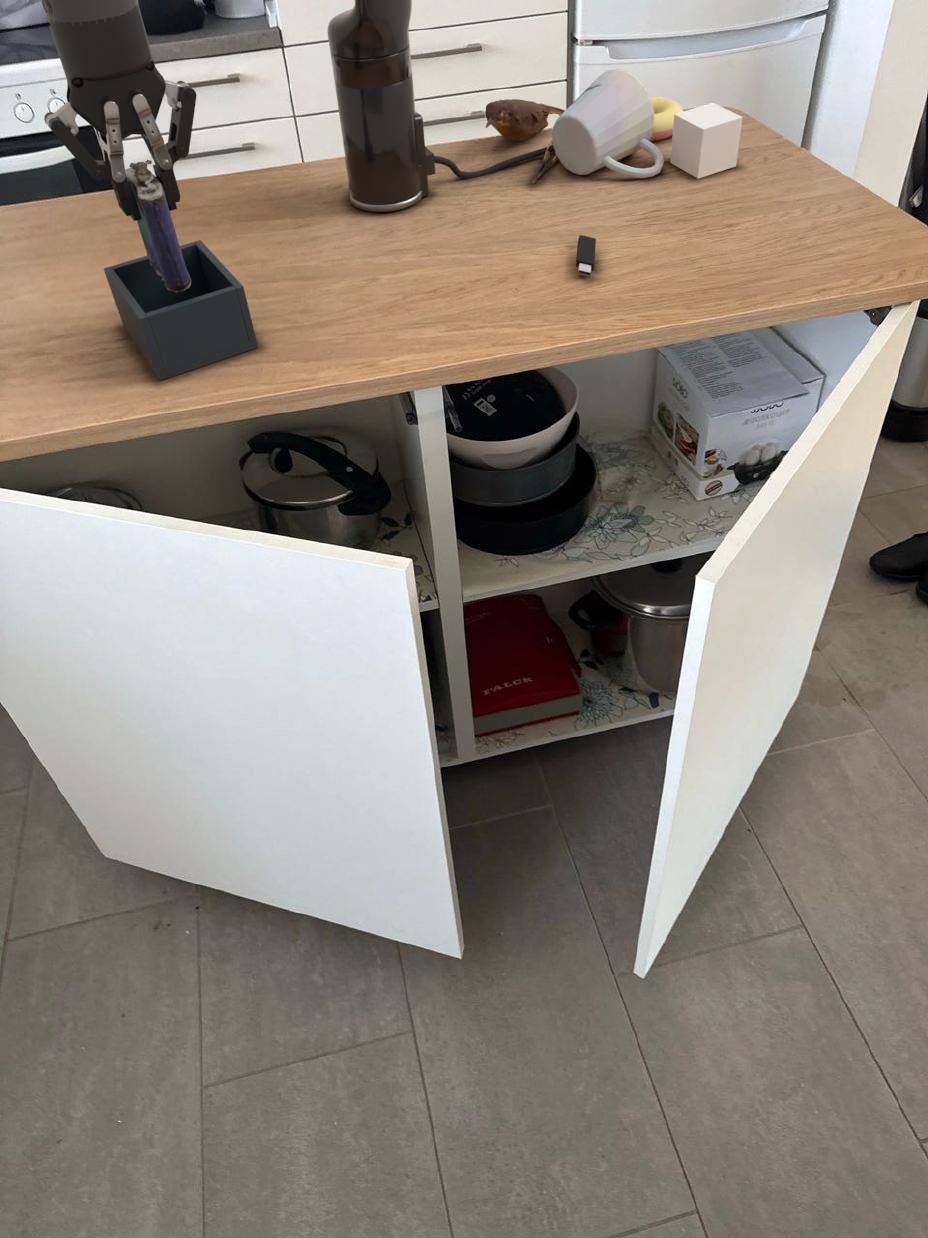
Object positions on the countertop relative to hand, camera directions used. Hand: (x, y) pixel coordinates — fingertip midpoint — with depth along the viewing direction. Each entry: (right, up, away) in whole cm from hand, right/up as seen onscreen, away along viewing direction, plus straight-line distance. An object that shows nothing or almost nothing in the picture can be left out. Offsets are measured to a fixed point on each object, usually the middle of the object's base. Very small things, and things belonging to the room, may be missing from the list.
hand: (152, 211), depth 90 cm
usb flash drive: (+44, +2, +15) cm, 46 cm away
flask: (0, -4, +5) cm, 6 cm away
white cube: (+61, +23, +25) cm, 70 cm away
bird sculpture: (+38, +28, +42) cm, 64 cm away
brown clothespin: (+41, +21, +35) cm, 58 cm away
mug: (+45, +19, +29) cm, 57 cm away
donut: (+59, +28, +38) cm, 76 cm away
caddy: (+1, -9, +10) cm, 13 cm away
